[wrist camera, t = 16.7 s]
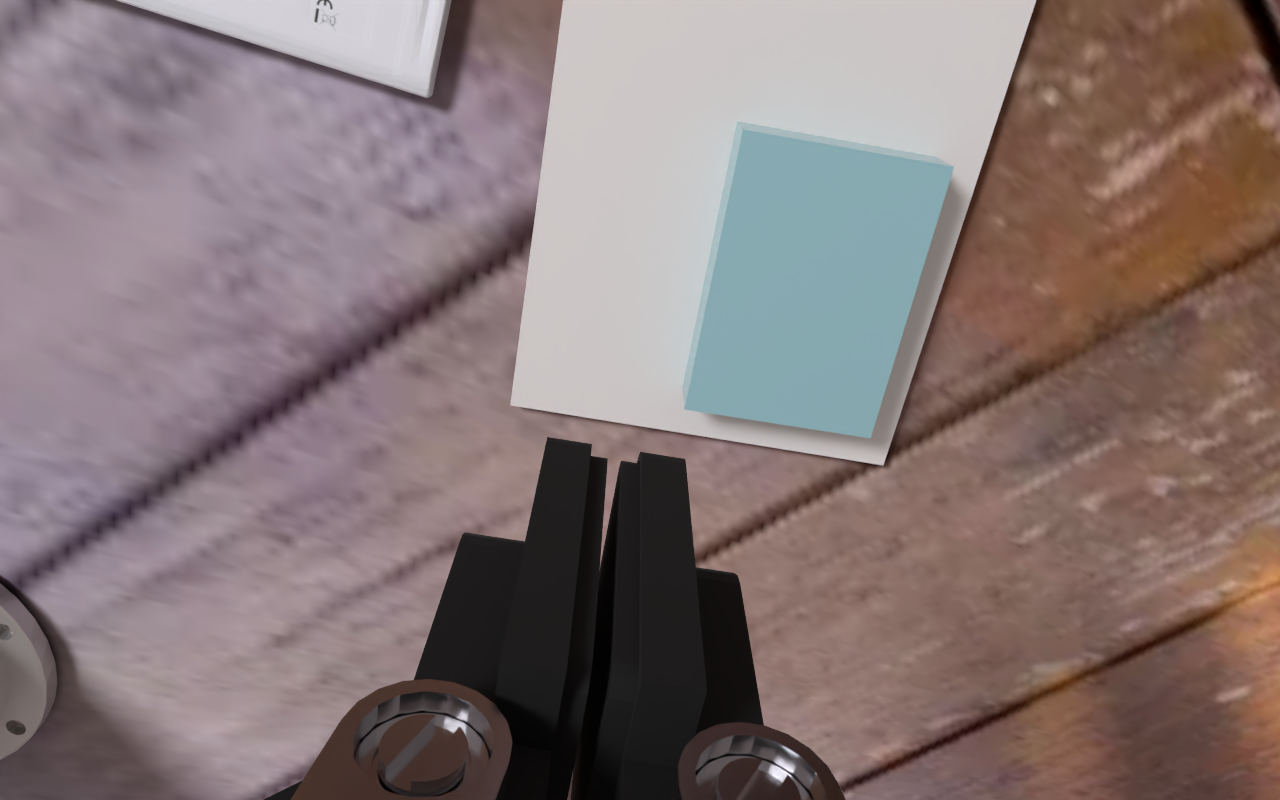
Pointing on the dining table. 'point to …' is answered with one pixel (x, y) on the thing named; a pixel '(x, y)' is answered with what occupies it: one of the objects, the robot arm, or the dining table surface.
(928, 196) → the tile
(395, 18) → the external hard drive
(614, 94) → the mat
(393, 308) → the dining table surface
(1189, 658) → the dining table surface
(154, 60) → the dining table surface
